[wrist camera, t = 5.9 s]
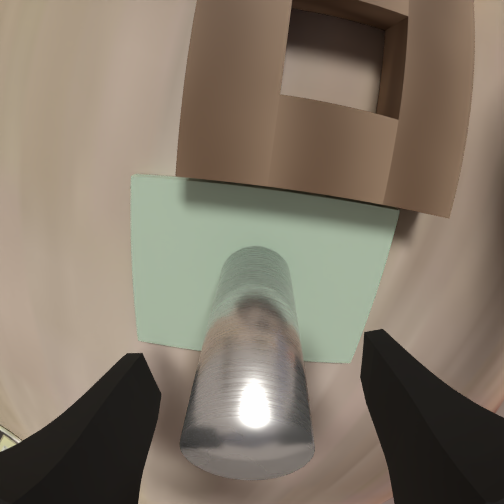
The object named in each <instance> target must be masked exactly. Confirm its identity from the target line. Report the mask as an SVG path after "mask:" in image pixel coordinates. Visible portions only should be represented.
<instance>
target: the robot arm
mask: <svg viewBox="0 0 504 504" xmlns="http://www.w3.org/2000/svg"><path fill="white" fill-rule="evenodd" d="M360 378H361V382H362V387H363V391H364V395H365V400H366V404H367V407H368V409H369V412H370V415H371V418H372V421H373V423H374V426H375V429H376V432H377V435H378V438H379V440H380V443H381V446H382V449H383V452H384V455H385V458H386V462H387V465H388V470H389V475H390V480H391V485H392V491H393V497H394V503H395V504H504V418H503V417H501V416H499V415H497V414H495V413H493V412H491V411H489V410H487V409H485V408H483V407H481V406H479V405H478V404H476V403H474V402H473V401H471V400H469V399H468V398H466V397H465V396H463V395H461V394H460V393H458V392H457V391H455V390H454V389H453V388H451V387H450V386H448V385H447V384H446V383H444V382H443V381H442V380H440V379H439V378H438V377H436V376H435V375H434V374H433V373H432V372H430V371H429V370H428V369H427V368H426V367H424V366H423V365H422V364H421V363H420V362H419V361H417V360H416V359H415V358H414V357H413V356H412V355H411V354H409V353H408V352H407V351H406V350H405V349H404V348H403V347H402V346H401V345H400V344H399V343H397V342H396V341H395V340H394V339H393V338H392V337H391V336H390V335H389V334H388V333H387V332H385V331H384V330H383V329H380V330H374V331H369V332H364V345H363V356H362V366H361V375H360ZM160 400H161V392H160V390H159V388H158V386H157V384H156V382H155V380H154V378H153V376H152V373H151V371H150V369H149V367H148V365H147V362H146V360H145V358H144V356H143V353H127V354H126V355H125V356H123V357H122V358H121V359H120V360H119V361H118V362H117V363H116V364H115V365H114V366H113V367H112V368H111V369H110V370H109V371H108V372H107V373H106V374H105V375H104V376H103V377H102V378H101V379H100V380H99V381H97V382H96V383H95V384H94V385H93V386H92V387H91V388H90V389H89V390H88V391H87V392H86V393H85V394H84V395H83V396H82V397H81V398H80V399H78V400H77V401H76V402H75V403H74V404H73V405H72V406H71V407H69V408H68V409H67V410H66V411H65V412H64V413H62V414H61V415H60V416H59V417H57V418H56V419H55V420H54V421H52V422H51V423H49V424H48V425H47V426H45V427H44V428H42V429H41V430H40V431H38V432H36V433H35V434H33V435H31V436H30V437H28V438H26V439H25V440H23V441H21V442H20V443H18V444H16V445H14V446H12V447H10V448H8V449H6V450H3V451H1V452H0V504H138V499H139V491H140V484H141V478H142V474H143V469H144V466H145V462H146V459H147V455H148V451H149V448H150V445H151V441H152V438H153V434H154V431H155V427H156V423H157V420H158V414H159V407H160Z"/></svg>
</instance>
